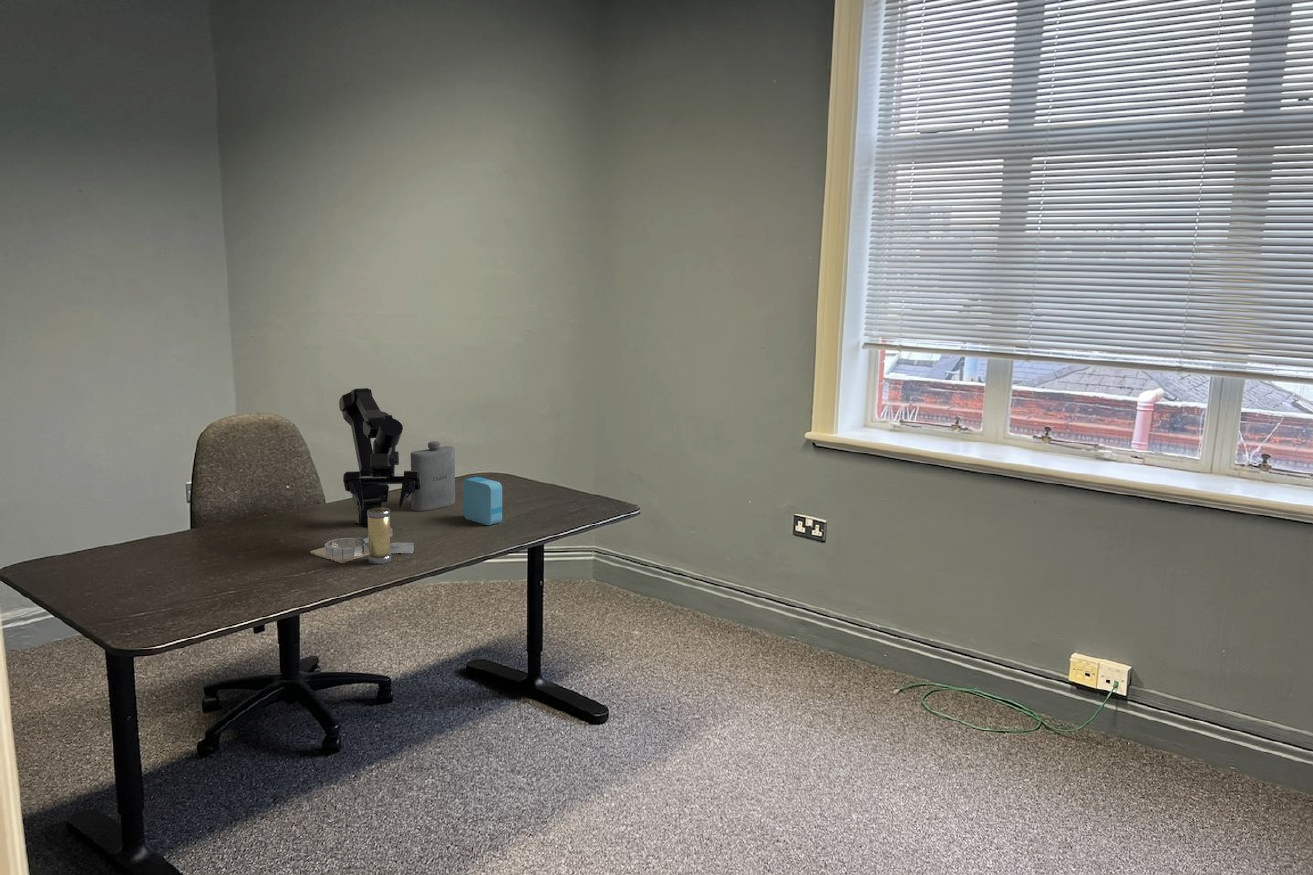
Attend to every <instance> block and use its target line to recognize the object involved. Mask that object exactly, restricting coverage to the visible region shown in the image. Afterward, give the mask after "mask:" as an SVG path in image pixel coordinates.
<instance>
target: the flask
mask: <svg viewBox="0 0 1313 875" xmlns="http://www.w3.org/2000/svg"><path fill="white" fill-rule="evenodd" d="M427 447H428V449H421V450H413V451H412V452H410V471H416V470H418V471H419V472H420V480H421V489H420V490H415V492H414V493H411V494H410V496H411V497H410V498H411V510H412V511H413V510H414V512H426V511H427V512H429V511H433V509H434V510H437V509H438V508H439V509H443V508H446V507H450V506H453V505H454V504H455V503H456V476H455V475H456V471H455V470H456V469H455V468H456V467H455V466H456V465H455V464H456V462H455V457H456V456H455V447H453V446H448V445H446V446H445V445H444V446H441V443H440V442H439V441H436V440H434V441H433V440H432V441H429V442H428V443H427ZM442 507H443V508H442ZM428 510H429V511H428Z"/></svg>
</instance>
